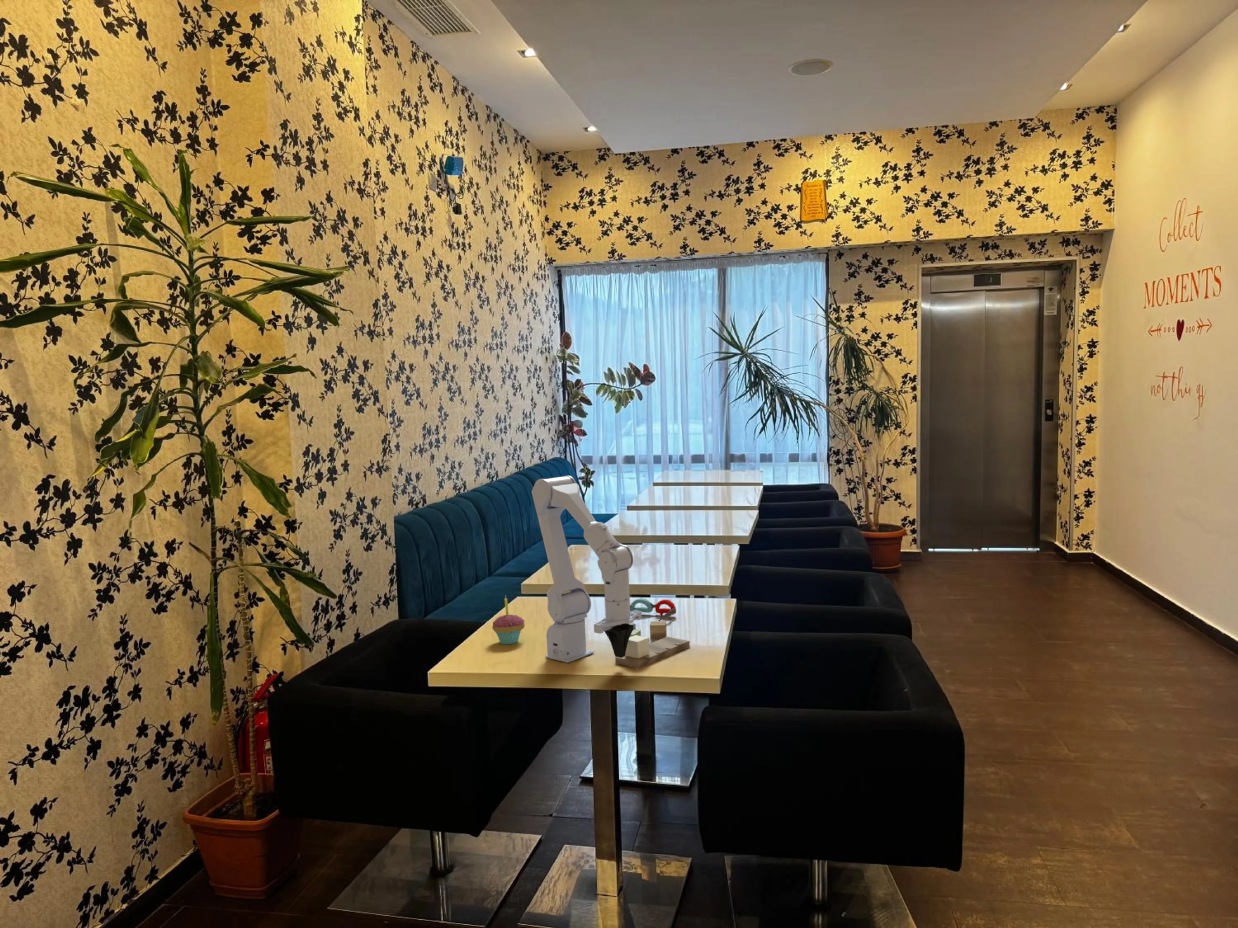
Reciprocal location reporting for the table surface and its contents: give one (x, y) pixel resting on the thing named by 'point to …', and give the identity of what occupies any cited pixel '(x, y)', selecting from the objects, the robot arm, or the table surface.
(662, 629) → the oak block
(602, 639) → the table surface
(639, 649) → the slider
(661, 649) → the board
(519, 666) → the table surface
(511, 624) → the cupcake
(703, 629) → the table surface
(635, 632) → the sage block
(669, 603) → the novelty glasses
